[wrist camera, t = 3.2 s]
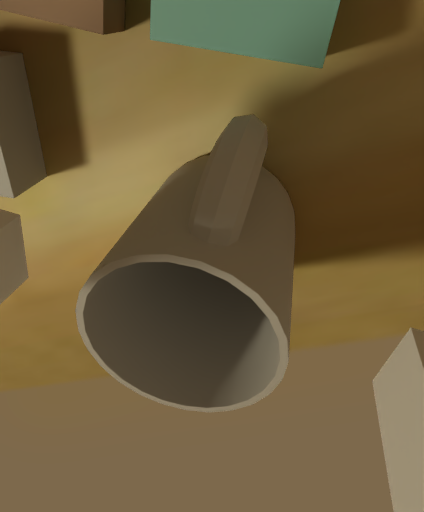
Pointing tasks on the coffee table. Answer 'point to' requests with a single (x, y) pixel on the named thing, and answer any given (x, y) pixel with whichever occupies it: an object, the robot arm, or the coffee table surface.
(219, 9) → the teal brick
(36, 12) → the walnut block
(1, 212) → the robot arm
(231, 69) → the coffee table surface
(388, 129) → the coffee table surface
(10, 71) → the grey brick
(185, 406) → the cup
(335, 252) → the coffee table surface
